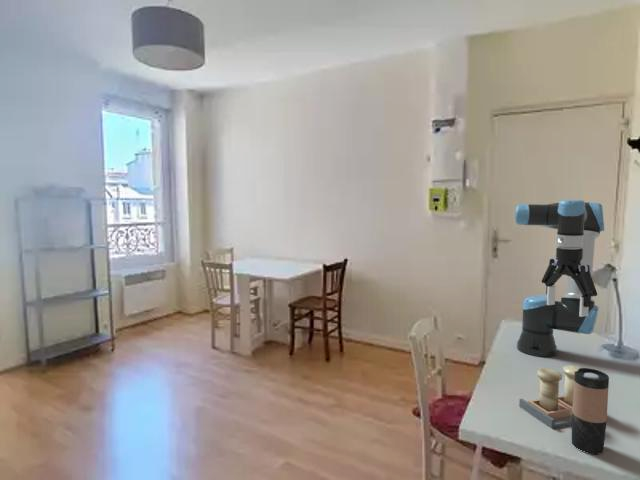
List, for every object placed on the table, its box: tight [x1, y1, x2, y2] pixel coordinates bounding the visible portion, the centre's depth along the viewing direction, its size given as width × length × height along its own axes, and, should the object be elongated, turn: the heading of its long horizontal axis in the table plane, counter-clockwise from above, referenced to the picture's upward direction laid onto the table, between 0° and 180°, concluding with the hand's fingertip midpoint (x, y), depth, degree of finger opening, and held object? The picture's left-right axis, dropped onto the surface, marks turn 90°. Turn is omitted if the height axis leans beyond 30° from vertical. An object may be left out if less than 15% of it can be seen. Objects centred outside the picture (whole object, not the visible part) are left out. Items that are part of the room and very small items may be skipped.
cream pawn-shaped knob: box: [536, 368, 563, 412], centre depth 126 cm, size 6×6×12 cm
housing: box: [518, 365, 581, 429], centre depth 127 cm, size 13×19×13 cm
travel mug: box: [571, 367, 610, 455], centre depth 110 cm, size 8×8×20 cm
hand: (566, 310), depth 140 cm, fingers open, 13 cm apart
